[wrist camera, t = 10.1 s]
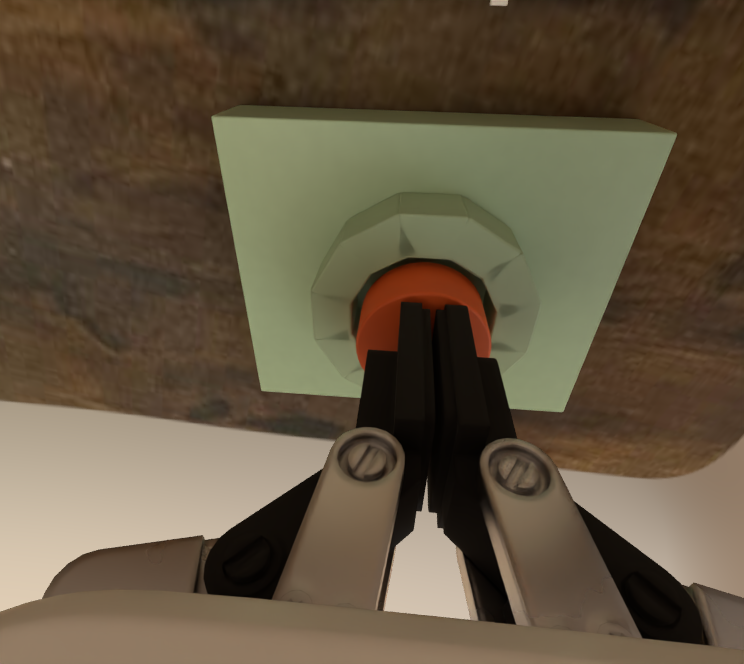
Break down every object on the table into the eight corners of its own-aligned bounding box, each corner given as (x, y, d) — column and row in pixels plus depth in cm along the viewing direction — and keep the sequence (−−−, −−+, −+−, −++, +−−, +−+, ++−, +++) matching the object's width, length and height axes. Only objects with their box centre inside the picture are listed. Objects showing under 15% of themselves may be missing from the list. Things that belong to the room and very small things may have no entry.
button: (493, 264, 11) (504, 296, 10) (472, 365, 13) (479, 404, 12) (362, 257, 12) (355, 288, 10) (361, 357, 14) (355, 395, 12)
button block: (640, 118, 12) (723, 149, 9) (548, 375, 18) (578, 450, 15) (238, 104, 13) (179, 128, 10) (275, 357, 19) (246, 425, 15)
